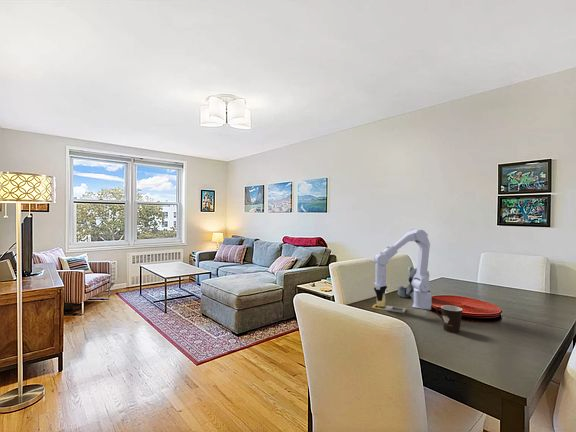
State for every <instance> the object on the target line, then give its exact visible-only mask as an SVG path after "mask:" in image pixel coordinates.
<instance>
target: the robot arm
mask: <svg viewBox="0 0 576 432" xmlns="http://www.w3.org/2000/svg"><path fill="white" fill-rule="evenodd" d="M428 236H429V235H428V233H427V232H426V231H425V230H423V229H415V228H411V229H409V230H408V231H407V232H405V233H404V235H403V236H402V237H400V239H399V240H397V241H396V242H395V243H394V244H389V245H386V248H385V249H383V250H382V251H380V253H377V254H375V256H374V258H373V262H374V264H375V271H374V272H375V273H374V274H375V282H373V283H372V285H374V286H375V287H373V290H374V292H375V295H377V300H378V301H382V297H383V292H384V293H385V294H386V290H387V288H388V286H387V264H388V263H389V261H390V260H391V259H392V258H393V257H394V256H395V255H396V254H398V250H399V249H401V248H403V246H405V245H406V244H408V243H409V242H415V243H416V244H417V245H418V254H417V263H416V264H417V265H416V268H417V272H416V274H415V275H414V278H413V280H412V286H413V287H414V301H413V303H412V308H415V309H422V310H427V311H428V310H430V311H431V310H432V307H431V306H433V302H432V299H433V298H432V297H433V296H432V292H431V291H430V292H428V291H429V290H430V288H431V284H430V279H429V278H430V277H429V278H428V277H427V271H428V266H429V257H430V248H431V243H430V239H429V237H428Z"/></svg>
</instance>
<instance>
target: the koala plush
mask: <svg viewBox="0 0 576 432" xmlns="http://www.w3.org/2000/svg"><path fill="white" fill-rule="evenodd" d="M407 269H408V282H409V284H408V285H407V287H406V288H405V287H404V286H403V285H399V286H398V289H397V295H398V296H399V297H400V298H403V299H404V298H405V299H411V300H412V302H414V287H413V286H412V280H413V278H414V275H415V274H416V272H417V267H415V268H414V267H412V266H410V265H409V266H408V267H407ZM427 277H428V278H430V272H429V271H428V270H427ZM428 292H431V290H430V289H429V291H428Z"/></svg>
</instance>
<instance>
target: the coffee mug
mask: <svg viewBox="0 0 576 432" xmlns="http://www.w3.org/2000/svg"><path fill="white" fill-rule="evenodd" d="M439 309H440V311H441V314H439V311H438V310H439ZM435 311H436V314H437V316H439V318H440V319H441V321H442V325H443V327H442V328H443V331H445V332H447V333H453V334H458V333H460V332H461V325H462V323H461V322H462V316H463V308H462V307H459V306H456V305H448V304H446V305H441V306H437V307H436V309H435Z"/></svg>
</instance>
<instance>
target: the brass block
mask: <svg viewBox="0 0 576 432" xmlns="http://www.w3.org/2000/svg"><path fill="white" fill-rule="evenodd" d="M375 295H376V294H375ZM375 302H376V303H375V304H376V307H380V308H385V307H384V306H385V305H386V292H385V293H384V292H383V297H382V301H378V300H377V295H376V301H375Z"/></svg>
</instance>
